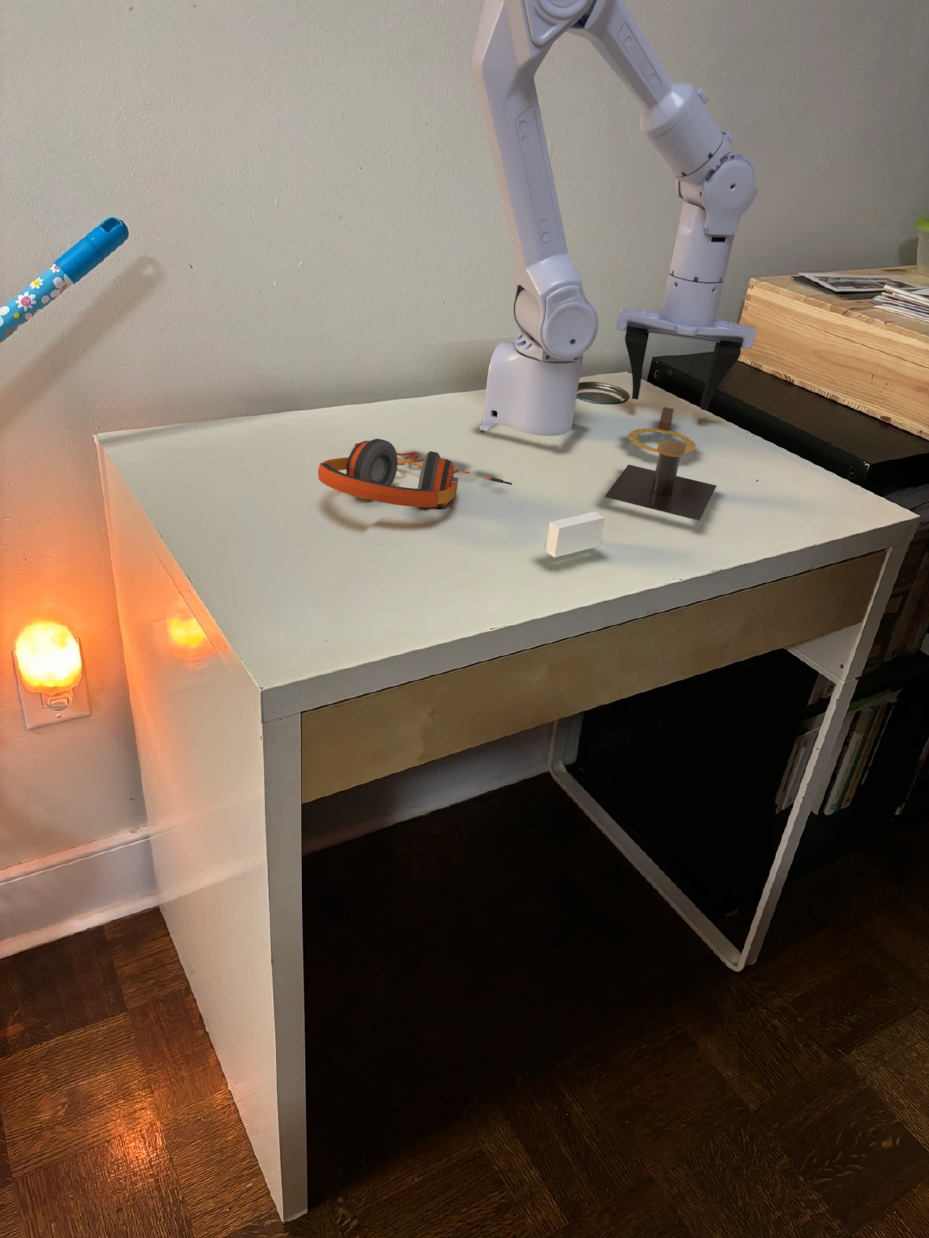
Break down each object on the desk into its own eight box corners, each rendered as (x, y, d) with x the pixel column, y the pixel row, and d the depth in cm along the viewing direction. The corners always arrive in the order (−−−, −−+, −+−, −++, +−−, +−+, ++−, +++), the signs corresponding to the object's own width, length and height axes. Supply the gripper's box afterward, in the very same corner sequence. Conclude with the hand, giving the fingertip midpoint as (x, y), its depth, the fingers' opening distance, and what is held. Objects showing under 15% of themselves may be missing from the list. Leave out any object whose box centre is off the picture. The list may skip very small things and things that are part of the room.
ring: (691, 467, 97) (695, 449, 96) (623, 455, 98) (626, 437, 97) (696, 429, 106) (700, 413, 105) (634, 419, 108) (637, 402, 107)
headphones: (364, 466, 95) (265, 497, 77) (371, 415, 94) (271, 434, 76) (517, 504, 91) (451, 546, 73) (528, 451, 90) (463, 481, 71)
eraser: (543, 561, 77) (549, 521, 75) (588, 549, 79) (595, 511, 77) (552, 567, 76) (559, 528, 74) (597, 556, 78) (605, 517, 76)
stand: (602, 506, 87) (612, 450, 84) (626, 473, 94) (636, 420, 91) (697, 530, 84) (711, 473, 81) (714, 494, 91) (727, 441, 88)
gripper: (624, 275, 94) (602, 403, 102) (769, 295, 92) (735, 424, 100) (629, 261, 100) (607, 383, 107) (764, 280, 98) (733, 403, 106)
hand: (669, 402), depth 104 cm, fingers open, 7 cm apart
